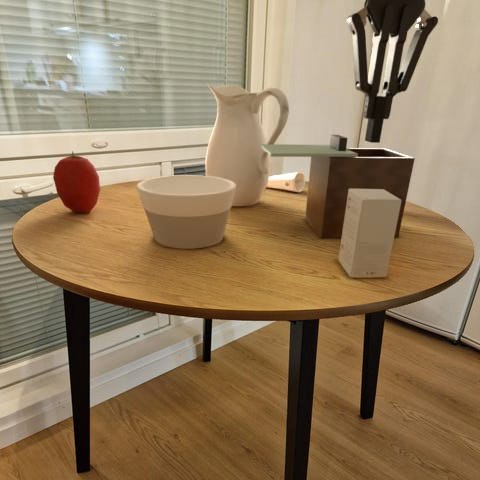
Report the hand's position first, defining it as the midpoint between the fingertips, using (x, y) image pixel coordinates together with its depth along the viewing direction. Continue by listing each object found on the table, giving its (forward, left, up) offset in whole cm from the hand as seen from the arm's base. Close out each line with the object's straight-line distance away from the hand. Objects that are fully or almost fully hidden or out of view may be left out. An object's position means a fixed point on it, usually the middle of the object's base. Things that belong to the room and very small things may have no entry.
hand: (372, 141), depth 69 cm
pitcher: (+15, -41, -21) cm, 49 cm away
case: (-6, -19, -20) cm, 29 cm away
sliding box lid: (+6, -19, -4) cm, 21 cm away
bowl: (+30, -14, -21) cm, 39 cm away
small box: (0, +5, -21) cm, 21 cm away
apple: (+56, -35, -21) cm, 69 cm away
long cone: (+4, -62, -21) cm, 66 cm away
